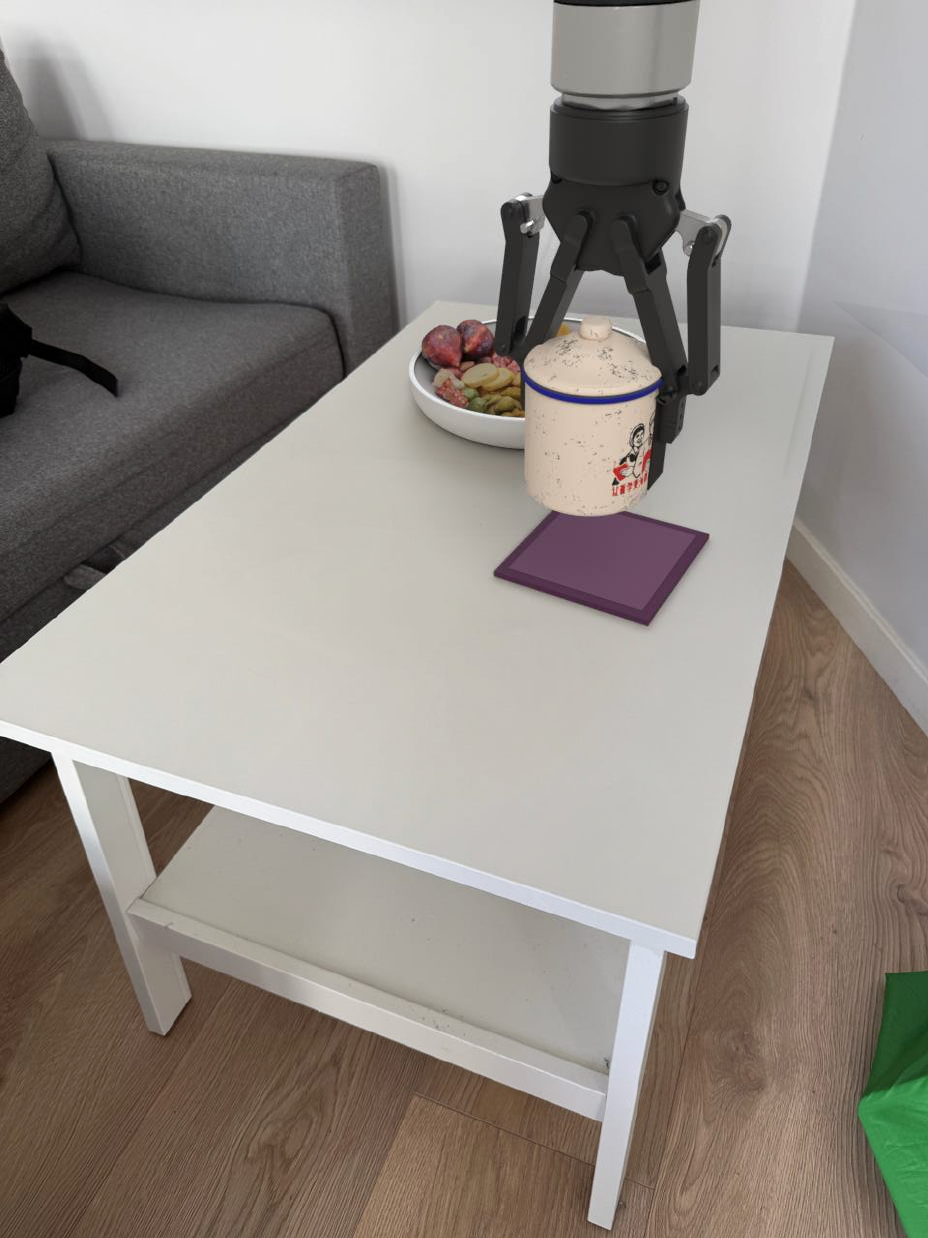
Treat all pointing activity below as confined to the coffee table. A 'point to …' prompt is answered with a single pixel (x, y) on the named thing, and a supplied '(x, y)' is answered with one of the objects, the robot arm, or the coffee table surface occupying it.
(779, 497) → the coffee table surface
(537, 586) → the place mat
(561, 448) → the teacup with lid
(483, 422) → the bowl
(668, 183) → the robot arm
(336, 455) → the coffee table surface
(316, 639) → the coffee table surface
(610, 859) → the coffee table surface
